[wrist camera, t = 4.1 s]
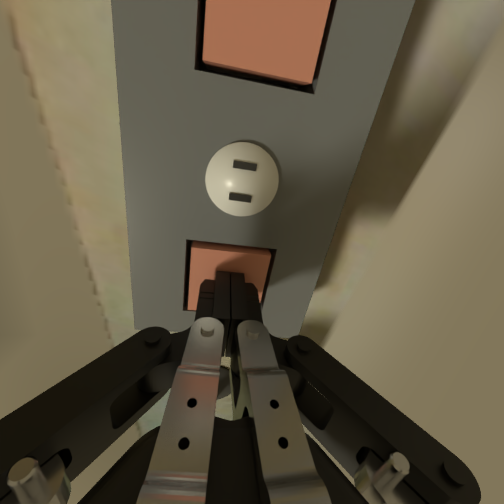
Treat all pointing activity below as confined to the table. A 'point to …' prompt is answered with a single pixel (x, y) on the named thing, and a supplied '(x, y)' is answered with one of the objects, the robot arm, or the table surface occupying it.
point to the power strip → (240, 151)
